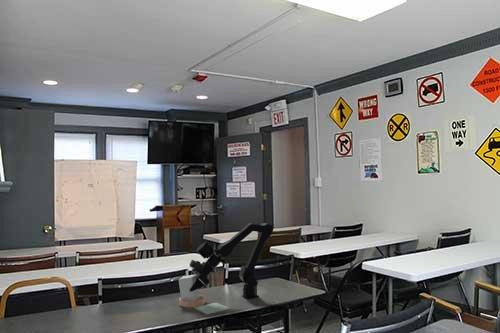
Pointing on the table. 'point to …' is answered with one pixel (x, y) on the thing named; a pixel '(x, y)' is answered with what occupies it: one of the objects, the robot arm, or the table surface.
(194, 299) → the supplement box
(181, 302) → the terracotta ring
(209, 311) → the sage mat
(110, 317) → the table surface
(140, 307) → the table surface
